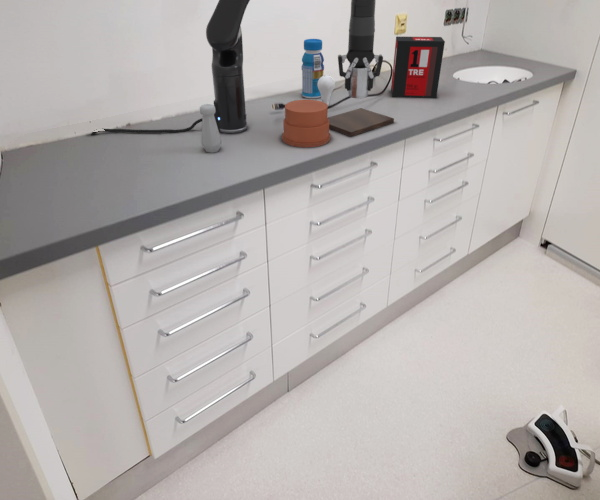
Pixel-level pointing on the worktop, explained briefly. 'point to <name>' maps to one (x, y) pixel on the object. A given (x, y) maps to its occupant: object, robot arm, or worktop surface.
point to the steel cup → (359, 83)
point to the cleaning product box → (417, 67)
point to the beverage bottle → (312, 68)
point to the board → (358, 122)
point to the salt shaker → (209, 129)
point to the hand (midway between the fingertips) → (358, 89)
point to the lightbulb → (326, 88)
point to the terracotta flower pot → (306, 123)
